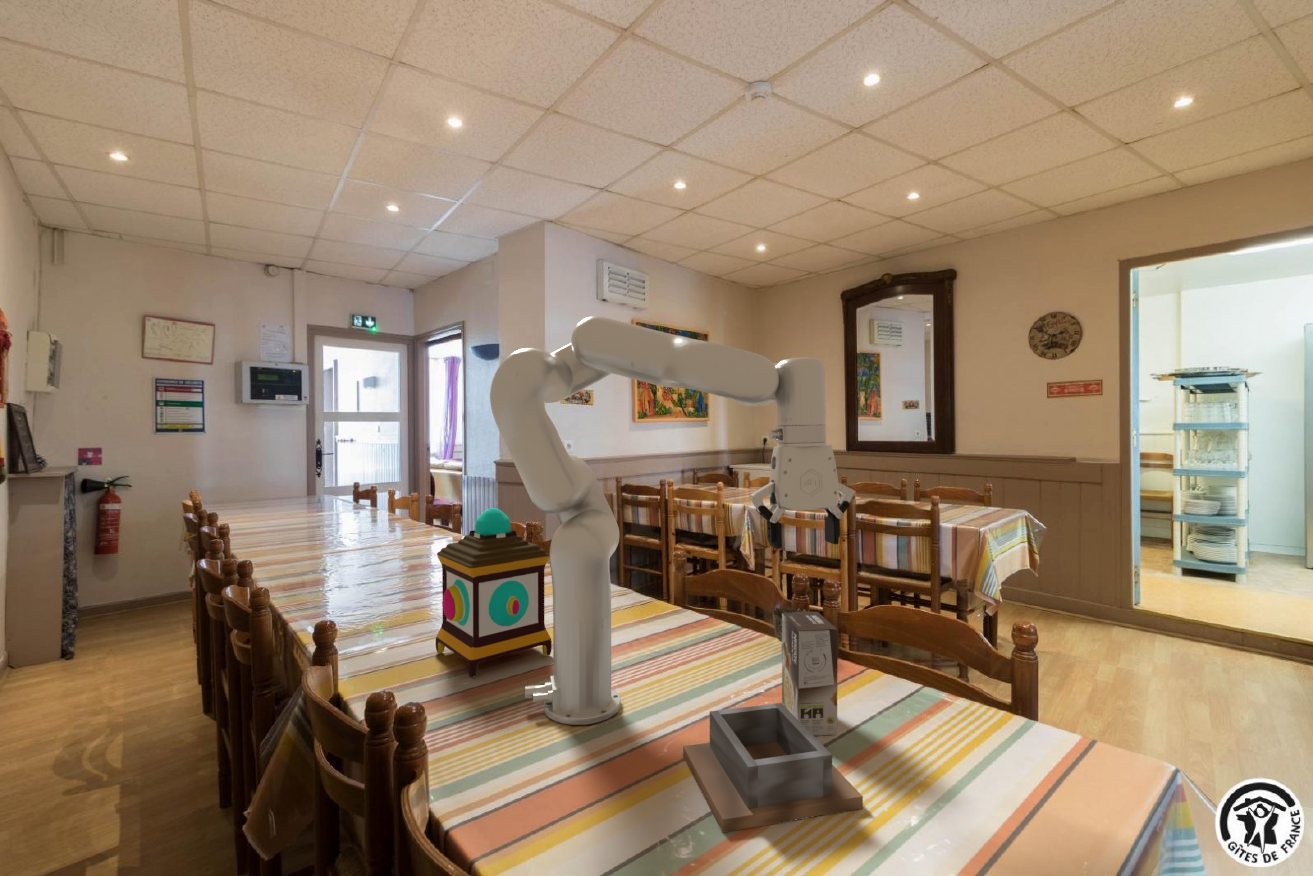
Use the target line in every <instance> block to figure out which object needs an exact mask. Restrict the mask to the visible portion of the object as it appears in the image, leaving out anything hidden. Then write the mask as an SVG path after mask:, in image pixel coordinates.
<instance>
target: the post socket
mask: <svg viewBox="0 0 1313 876" xmlns="http://www.w3.org/2000/svg"><path fill="white" fill-rule="evenodd" d="M682 757H683V759H684V761H685V764H686V765H687V767H688V769H689V770H690V773H691V774H692V776H693V778H694V780H695V783H696V784H697V786H698V787H699V789H700V792H701V794H702V797H704V800H705V801H706V803H707V805H708V807H709V809H710V811H711V813H712V815H713V818H715V821H716V823H717V824H718V827H719V828H720V830H721V833H728V832H735V831H741V830H746V829H752V828H753V829H754V828H757V827H764V826H769V825H775V824H780V823H781V824H782V823H786V821H788V822H791V821H790V820H793V821H796V820H795V819H799V820H803V819H802V818H805V819H807V818H806V817H811V818H813V817H812V816H817V817H819V816H818V815H822V816H827V815H826V814H828V815H832V814H833V813H834V814H839V813H845V812H844V811H846V812H849V810H851V811H857V810H861V809H862V810H863V809H864V808H863V805H864V803H863V802H864V796H863V795H862V793H860V791H858V789H856V788H855V786H853V784H852V783H851V782H849V780H848V779H847V778H846V777H845V776H844V775H843V774H842V772H841V771H840V770H838V769H837V768H836V766H835V765H834V764H833V754H832V753H831V752H830V751H829V750H828V749H827V748H826V747H825V746H824V745H823V744H822V743H821V741H819V740H818V739H817V738H816V737H815V736H813V735H812V734H811V733H810V732H809V731H808V730H807V729H806V728H805V727H804V725H803V724H802V723H801V722H800V721H799V720H798V719H797V718H796V717H795V716H794V715H793V714H792V713H791V712H790V711H789V710H788V709H787V708H786V707H785V706H784V705H783V704H782V702H778V703H769V704H761V705H752V706H746V707H745V706H744V707H737V708H736V707H735V708H727V709H726V708H725V709H718V710H712V711H711V710H710V711H709V742H705V743H697V744H688V745H683V746H682ZM837 812H839V813H837ZM834 814H833V815H834Z"/></svg>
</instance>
